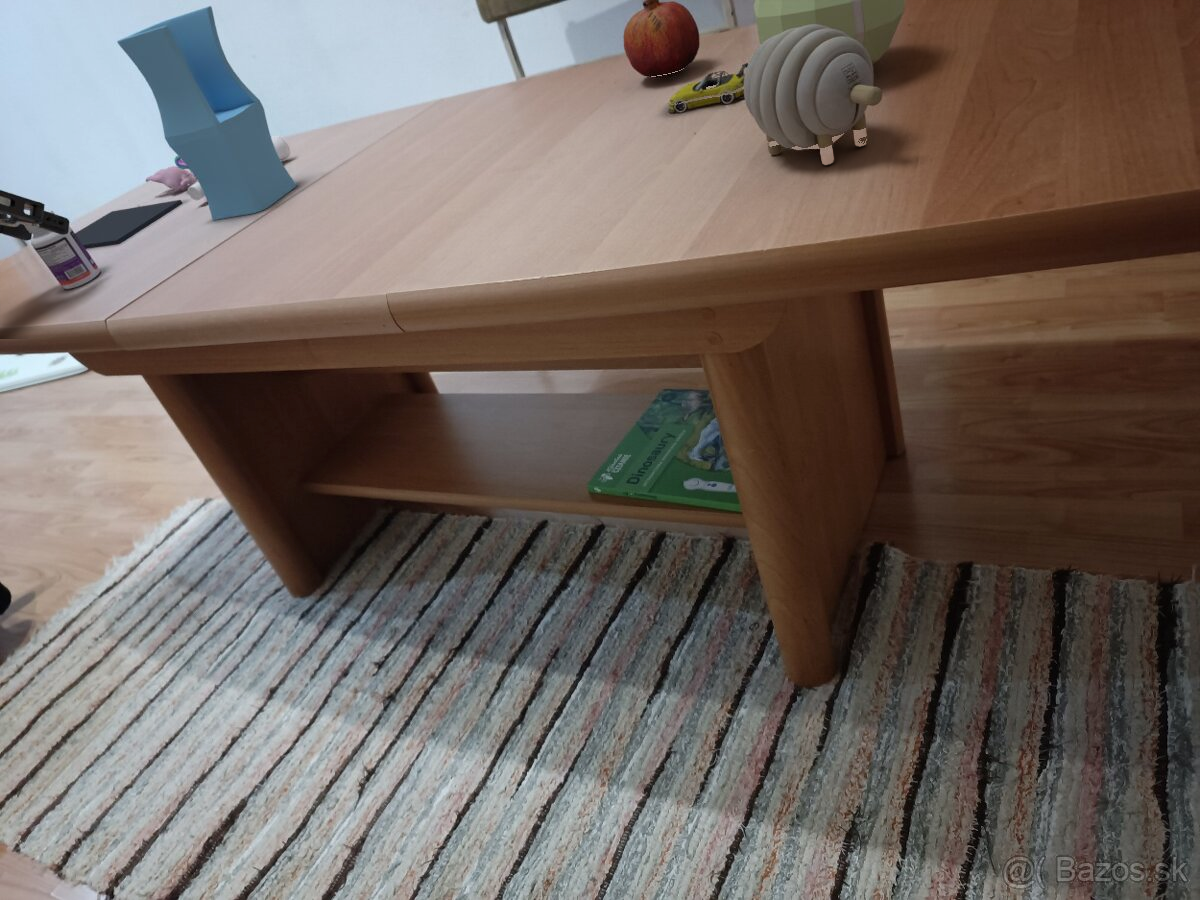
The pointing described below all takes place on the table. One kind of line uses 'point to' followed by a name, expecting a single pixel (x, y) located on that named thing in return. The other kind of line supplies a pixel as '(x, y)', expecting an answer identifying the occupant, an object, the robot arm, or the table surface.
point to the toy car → (709, 91)
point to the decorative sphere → (834, 19)
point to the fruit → (661, 39)
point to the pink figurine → (174, 176)
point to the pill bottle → (64, 256)
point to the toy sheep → (809, 87)
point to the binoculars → (281, 149)
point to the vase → (210, 114)
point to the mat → (122, 224)
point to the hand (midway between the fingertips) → (48, 230)
